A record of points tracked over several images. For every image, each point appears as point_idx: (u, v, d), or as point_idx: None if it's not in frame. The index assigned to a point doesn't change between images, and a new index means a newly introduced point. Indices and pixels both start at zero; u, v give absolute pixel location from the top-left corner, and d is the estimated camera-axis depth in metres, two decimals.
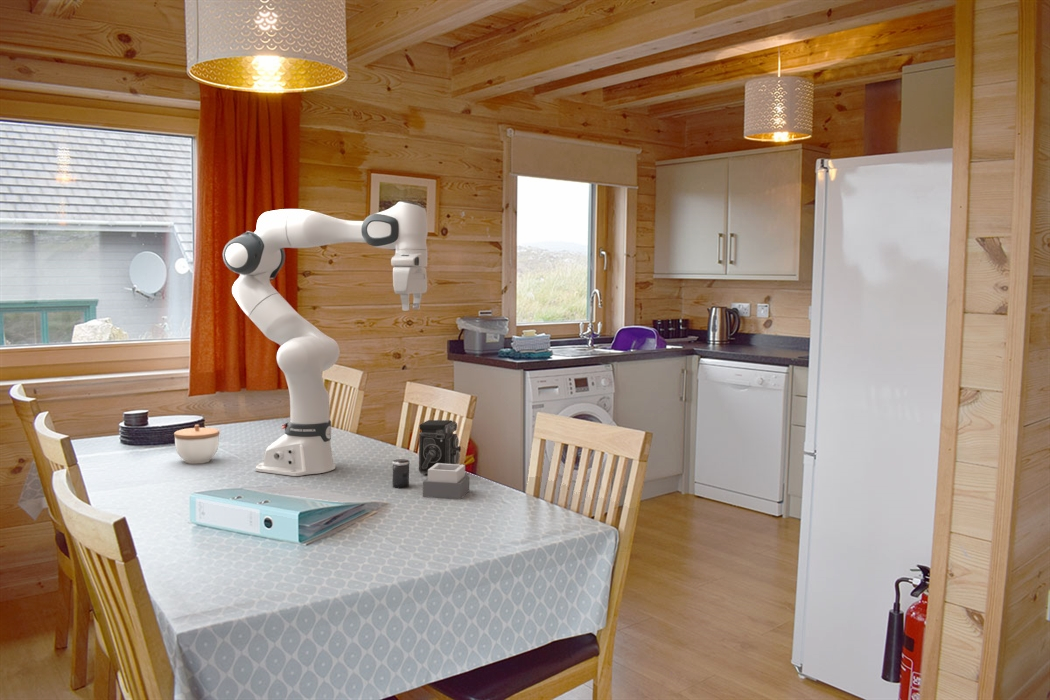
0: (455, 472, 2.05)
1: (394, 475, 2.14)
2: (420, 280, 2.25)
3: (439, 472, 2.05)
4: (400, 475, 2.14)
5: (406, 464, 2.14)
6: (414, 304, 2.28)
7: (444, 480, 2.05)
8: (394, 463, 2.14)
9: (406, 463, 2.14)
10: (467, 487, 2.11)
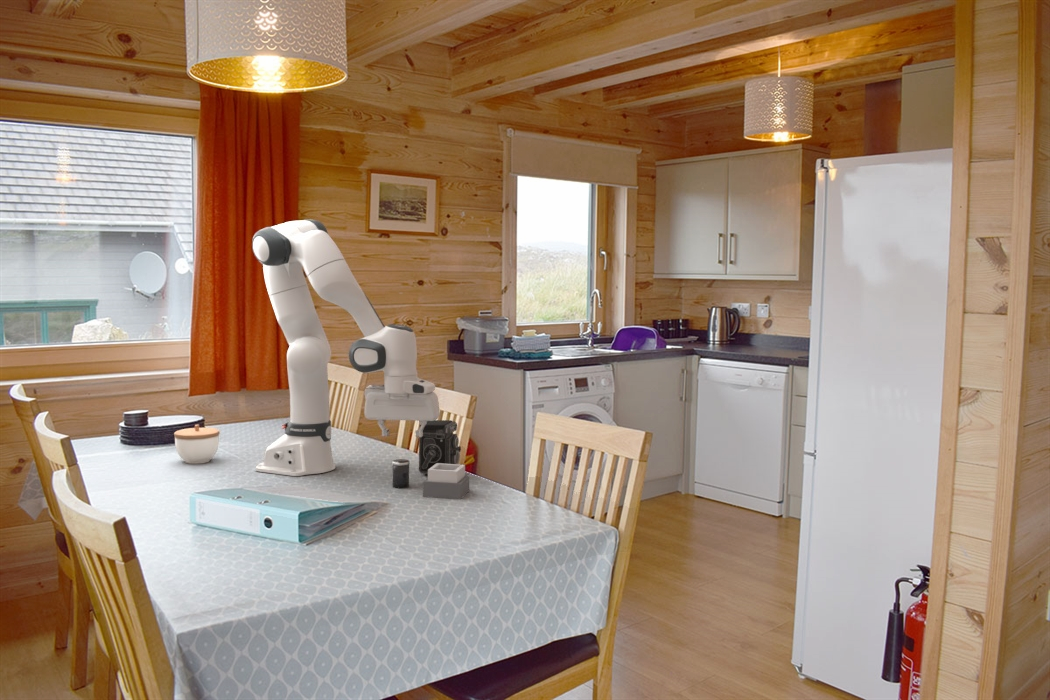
0: (455, 472, 2.05)
1: (394, 475, 2.14)
2: None
3: (439, 472, 2.05)
4: (400, 475, 2.14)
5: (406, 464, 2.14)
6: (387, 430, 2.15)
7: (444, 480, 2.05)
8: (394, 463, 2.14)
9: (406, 463, 2.14)
10: (467, 487, 2.11)
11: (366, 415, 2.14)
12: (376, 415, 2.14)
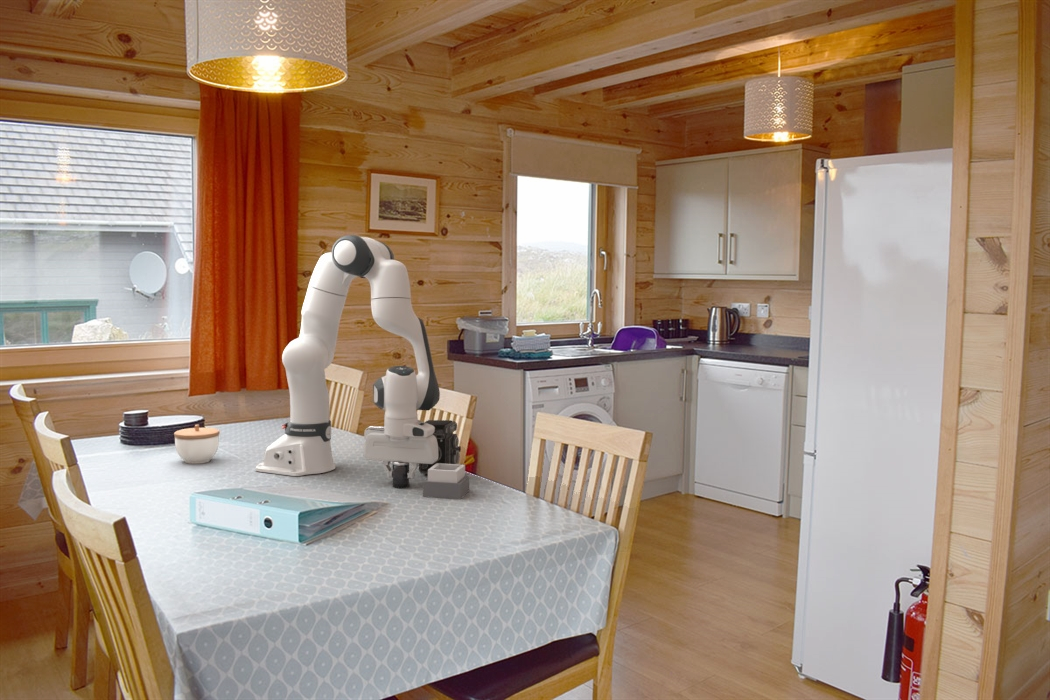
0: (455, 472, 2.05)
1: (394, 475, 2.14)
2: None
3: (439, 472, 2.05)
4: (400, 475, 2.14)
5: (406, 464, 2.14)
6: (392, 472, 2.16)
7: (444, 480, 2.05)
8: (394, 463, 2.14)
9: (406, 463, 2.14)
10: (467, 487, 2.11)
11: (365, 456, 2.15)
12: (375, 456, 2.15)
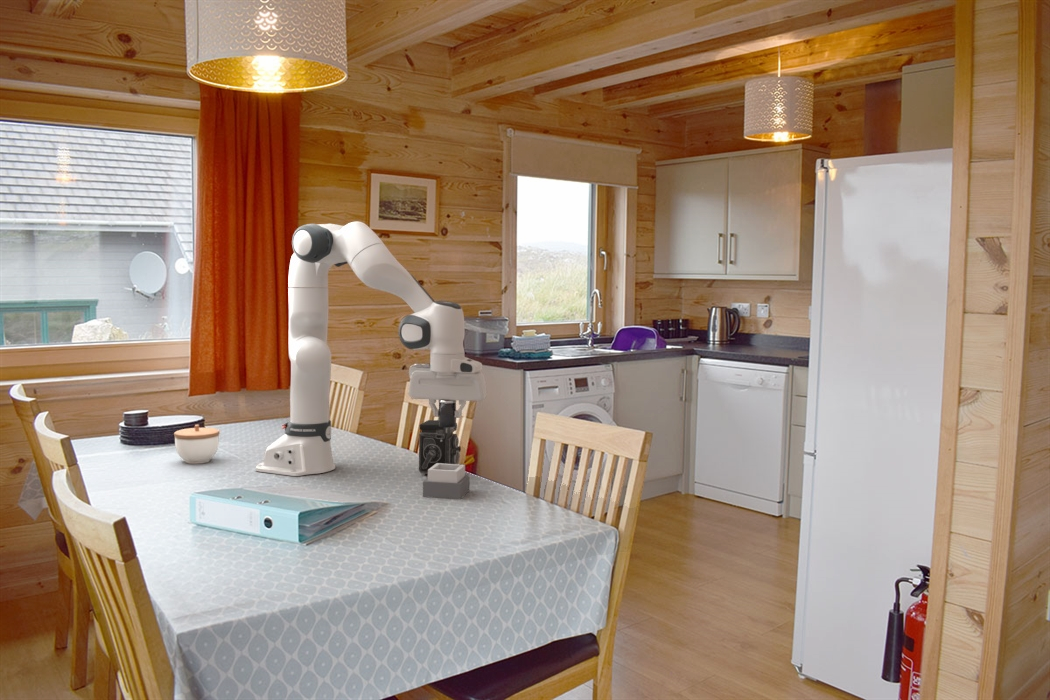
0: (455, 472, 2.05)
1: (441, 414, 2.06)
2: None
3: (439, 472, 2.05)
4: (447, 413, 2.06)
5: (453, 402, 2.06)
6: (438, 411, 2.08)
7: (444, 480, 2.05)
8: (441, 401, 2.06)
9: (453, 401, 2.06)
10: (467, 487, 2.11)
11: (410, 394, 2.07)
12: (421, 394, 2.07)
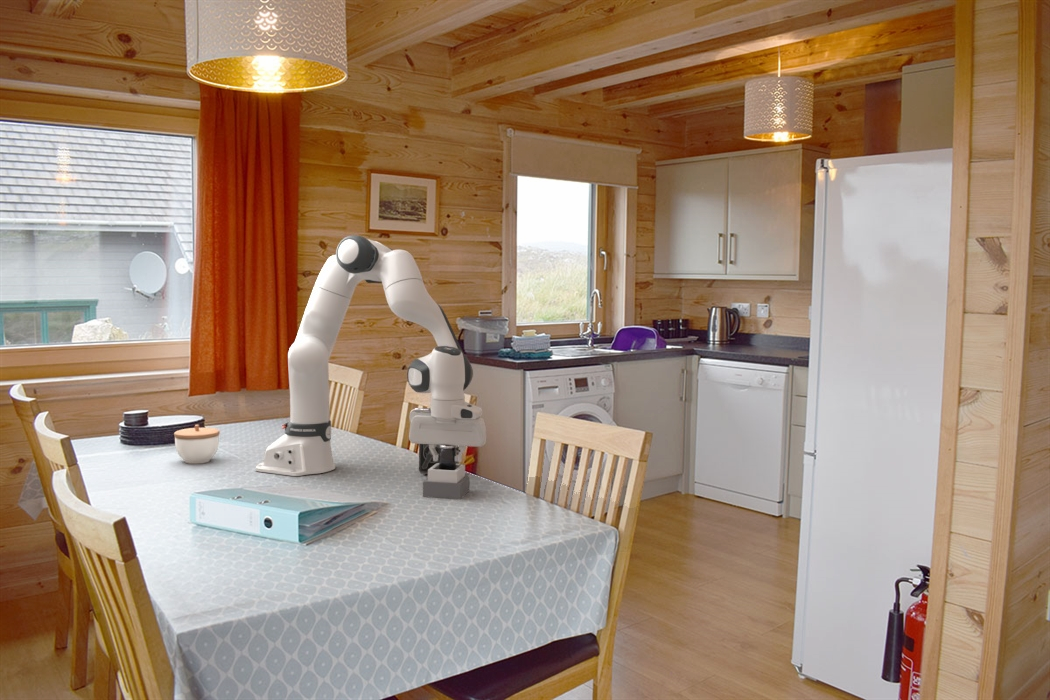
0: (455, 472, 2.05)
1: (441, 459, 2.07)
2: None
3: (439, 472, 2.05)
4: (447, 458, 2.07)
5: (453, 447, 2.07)
6: (438, 455, 2.09)
7: (444, 480, 2.05)
8: (441, 446, 2.07)
9: (453, 446, 2.07)
10: (467, 487, 2.11)
11: (411, 439, 2.08)
12: (421, 439, 2.08)
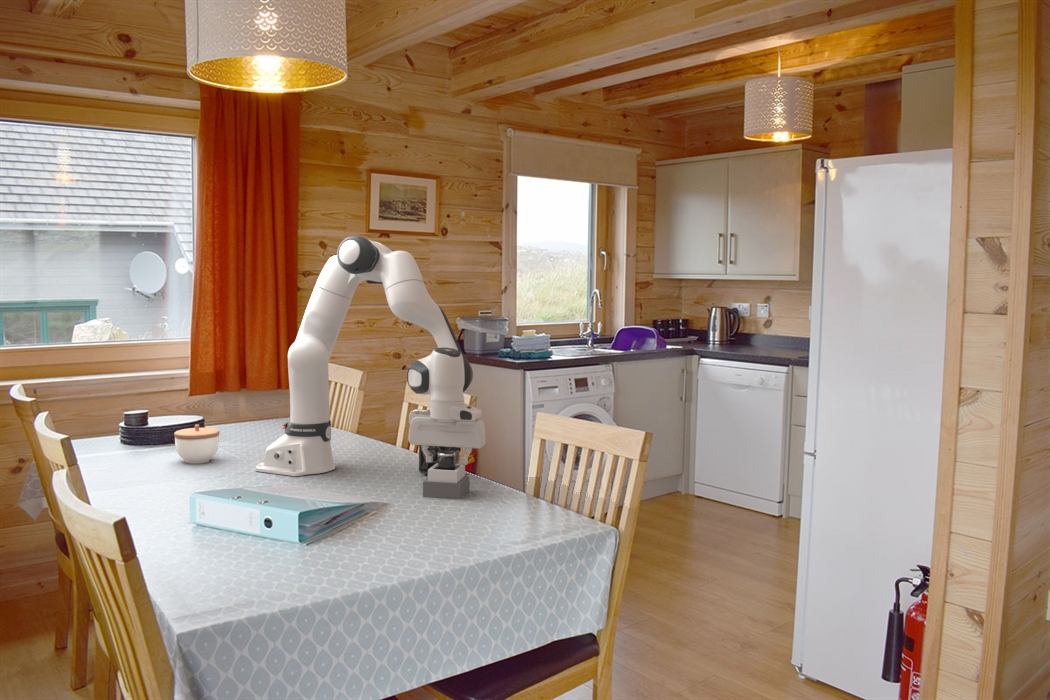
0: (455, 472, 2.05)
1: (440, 467, 2.07)
2: None
3: (439, 472, 2.05)
4: (446, 466, 2.07)
5: (452, 455, 2.07)
6: (431, 456, 2.09)
7: (444, 480, 2.05)
8: (440, 454, 2.07)
9: (452, 454, 2.07)
10: (467, 487, 2.11)
11: (410, 440, 2.08)
12: (420, 440, 2.08)
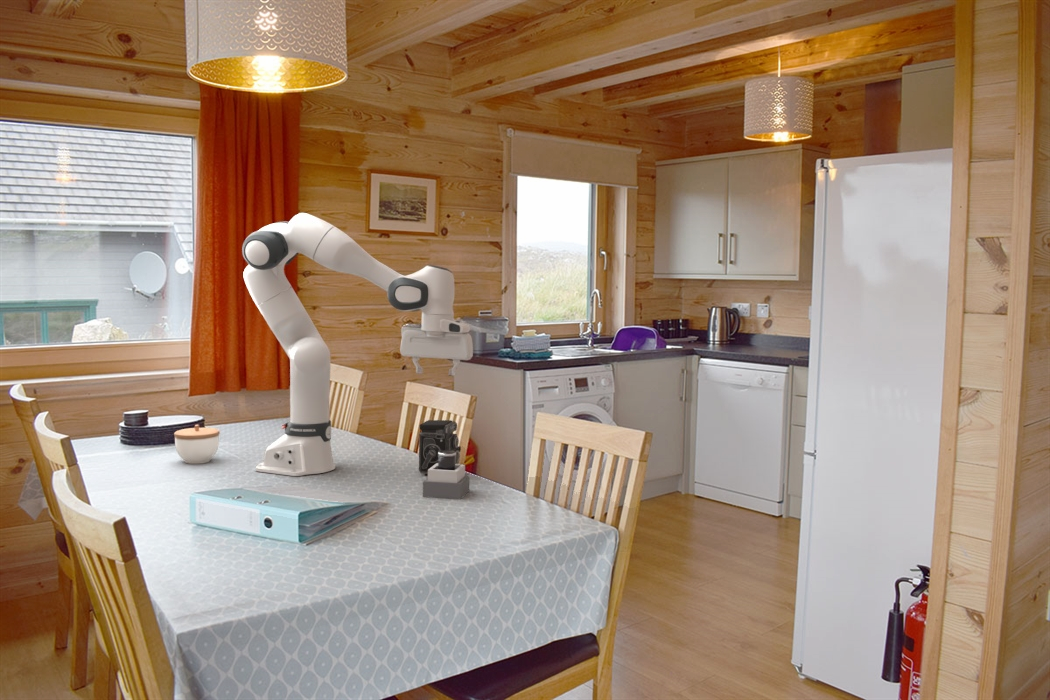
0: (455, 472, 2.05)
1: (440, 466, 2.07)
2: None
3: (439, 472, 2.05)
4: (446, 466, 2.07)
5: (453, 455, 2.07)
6: (421, 368, 2.22)
7: (444, 480, 2.05)
8: (440, 454, 2.07)
9: (453, 454, 2.07)
10: (467, 487, 2.11)
11: (402, 352, 2.21)
12: (411, 352, 2.21)
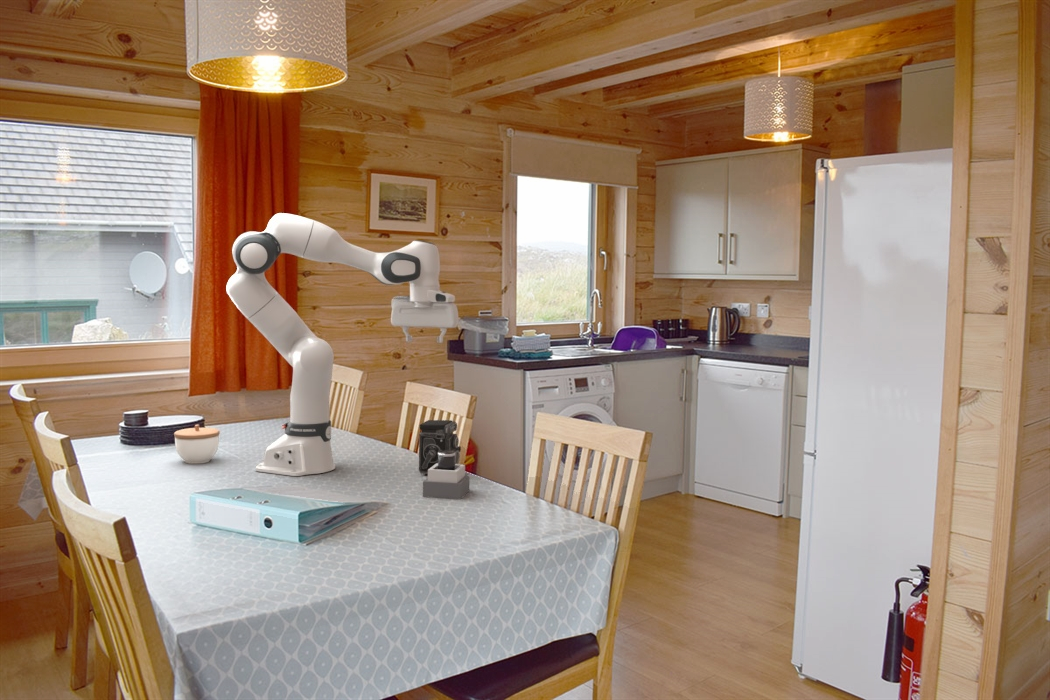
0: (455, 472, 2.05)
1: (440, 466, 2.07)
2: None
3: (439, 472, 2.05)
4: (446, 467, 2.07)
5: (452, 455, 2.07)
6: (411, 337, 2.39)
7: (444, 480, 2.05)
8: (440, 454, 2.07)
9: (452, 454, 2.07)
10: (467, 487, 2.11)
11: (392, 322, 2.38)
12: (401, 322, 2.38)
